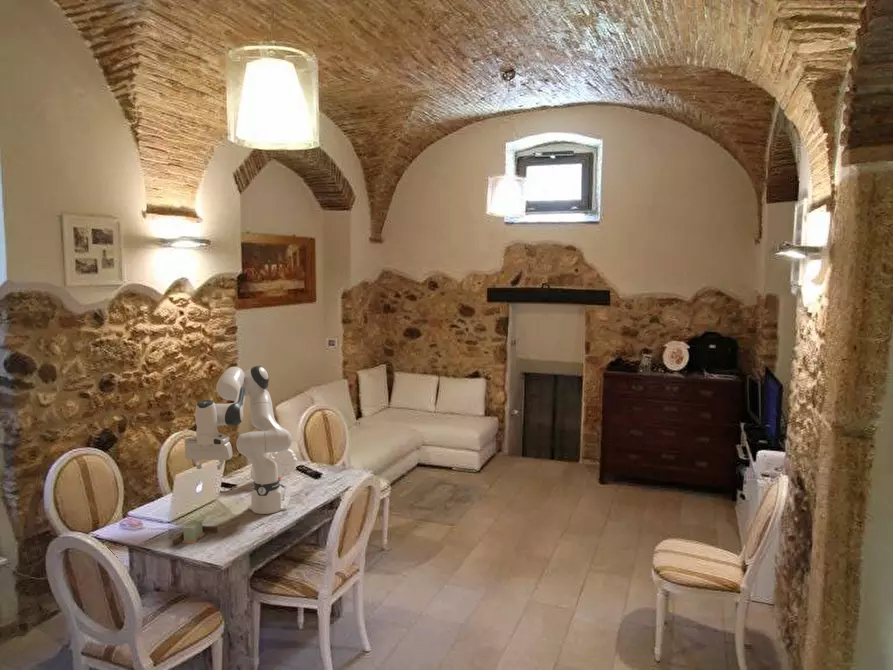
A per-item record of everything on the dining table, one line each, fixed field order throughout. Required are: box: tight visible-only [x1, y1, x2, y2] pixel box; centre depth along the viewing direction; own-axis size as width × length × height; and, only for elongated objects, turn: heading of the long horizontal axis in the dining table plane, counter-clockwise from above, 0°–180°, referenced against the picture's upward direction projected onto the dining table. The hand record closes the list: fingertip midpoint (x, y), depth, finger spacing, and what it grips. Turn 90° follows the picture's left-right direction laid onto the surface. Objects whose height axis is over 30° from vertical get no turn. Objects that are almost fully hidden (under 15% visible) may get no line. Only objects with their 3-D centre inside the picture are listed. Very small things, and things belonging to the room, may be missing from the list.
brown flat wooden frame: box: [172, 525, 219, 546], centre depth 282 cm, size 15×13×2 cm
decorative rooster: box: [250, 447, 298, 481], centre depth 349 cm, size 25×16×25 cm, turn 73°
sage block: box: [182, 520, 203, 542], centre depth 282 cm, size 4×8×6 cm, turn 174°
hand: (209, 468), depth 281 cm, fingers open, 8 cm apart
